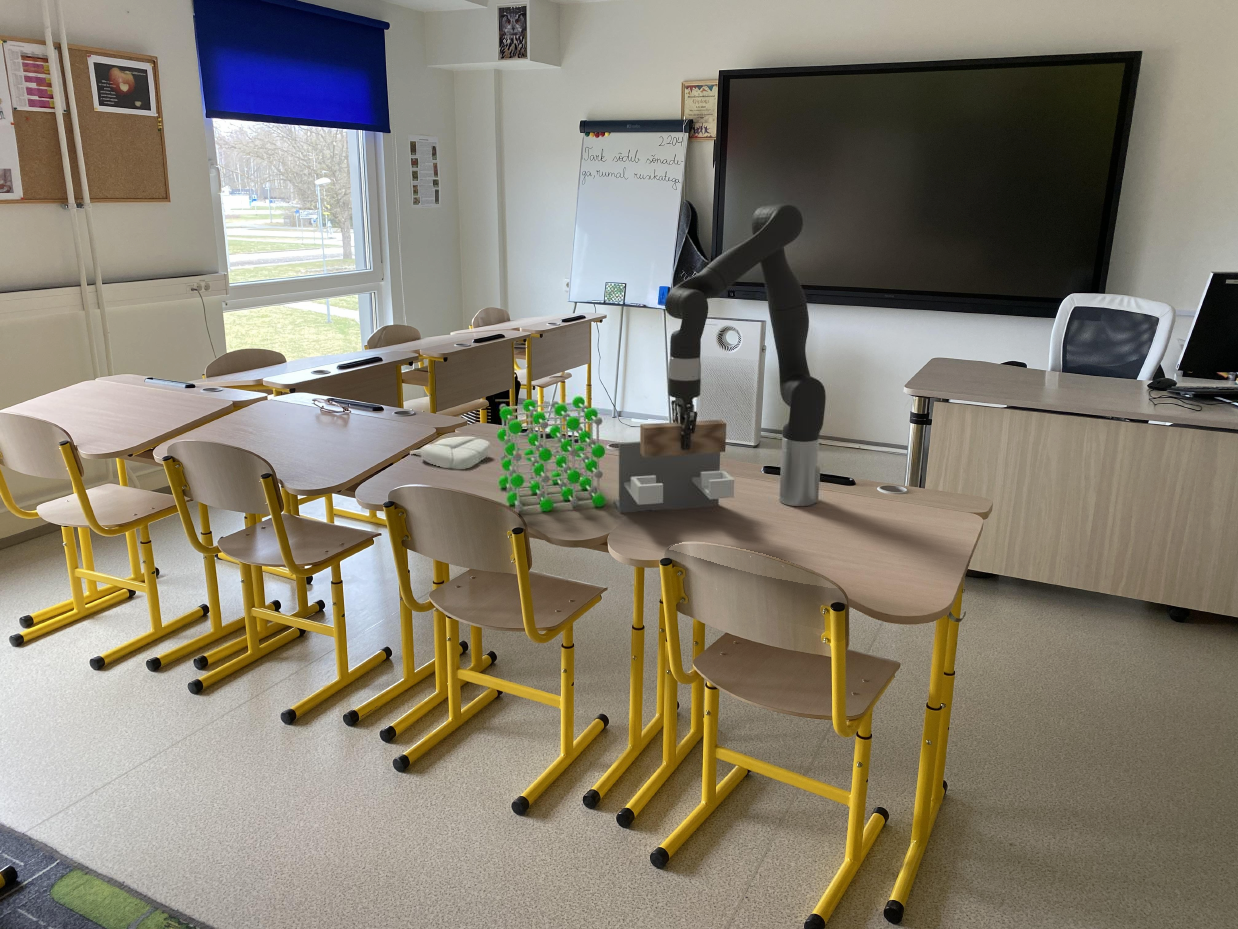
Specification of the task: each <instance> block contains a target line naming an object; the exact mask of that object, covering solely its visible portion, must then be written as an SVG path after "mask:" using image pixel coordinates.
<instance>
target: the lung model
mask: <svg viewBox="0 0 1238 929" xmlns="http://www.w3.org/2000/svg"><path fill="white" fill-rule="evenodd" d="M491 447H492V444H491V442H489V441H487V440H486V439H482V438H479V437H475V436H453V437H446V438H442V439H439V440H437V441H436V442H434V443H432V444H426V445H424V446H422V448H421V449H416V450H409V454H410V455H411V454H416V455H420V458H422V460H423V461H424V462H427V463H429V464H431V465H432V464H433V466H434V465H436V466H435V467H438V466H440V467H439V468H442V469H453V470H466V468H467V469H469V468H472V467H473V466H475V465H476V464H478V463H479V462H482V461H483V460H484V459H486V458H487V457H488V456H489V454H490V452H491ZM411 456H412V455H411ZM481 460H482V461H481Z"/></svg>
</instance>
